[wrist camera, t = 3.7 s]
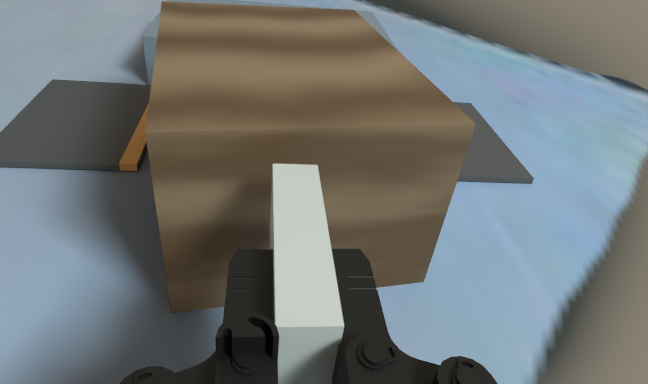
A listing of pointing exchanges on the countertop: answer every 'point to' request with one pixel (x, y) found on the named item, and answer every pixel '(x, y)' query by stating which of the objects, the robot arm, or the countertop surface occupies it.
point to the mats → (130, 140)
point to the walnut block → (293, 140)
